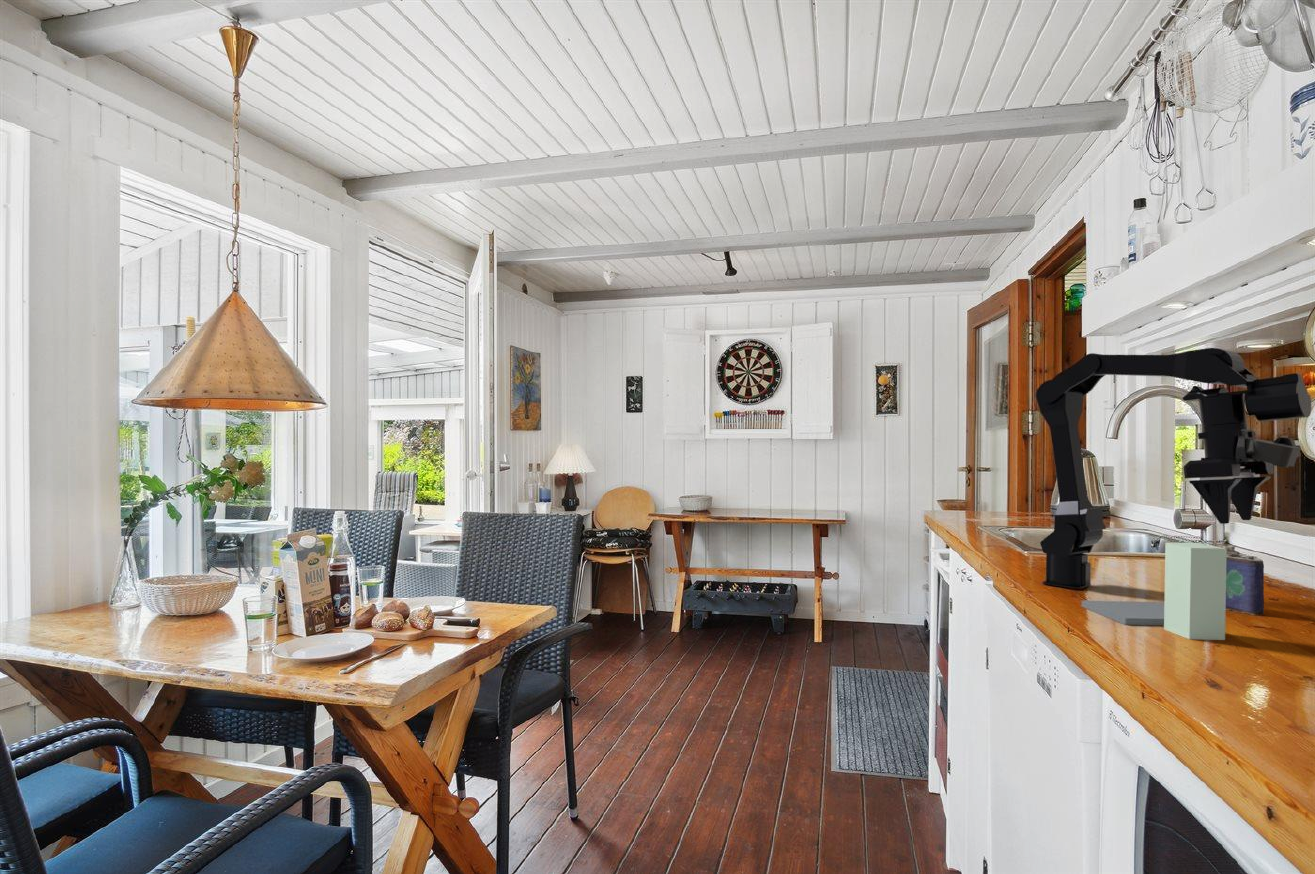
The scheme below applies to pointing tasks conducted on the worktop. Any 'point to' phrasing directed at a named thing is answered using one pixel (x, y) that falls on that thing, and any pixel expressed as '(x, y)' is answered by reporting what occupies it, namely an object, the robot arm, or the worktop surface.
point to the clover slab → (1244, 583)
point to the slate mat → (1129, 611)
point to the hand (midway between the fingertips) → (1235, 521)
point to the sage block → (1195, 590)
